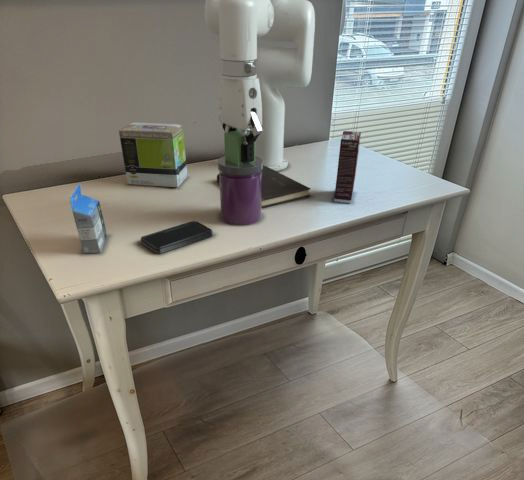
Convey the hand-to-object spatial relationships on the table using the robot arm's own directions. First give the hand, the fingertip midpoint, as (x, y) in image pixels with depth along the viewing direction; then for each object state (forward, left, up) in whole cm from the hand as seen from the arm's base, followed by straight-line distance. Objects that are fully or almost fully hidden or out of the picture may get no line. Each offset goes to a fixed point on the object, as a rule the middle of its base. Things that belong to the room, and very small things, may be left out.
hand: (240, 157), depth 114 cm
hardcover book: (-12, +16, -14) cm, 25 cm away
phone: (+1, -19, -14) cm, 24 cm away
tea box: (-35, -4, -14) cm, 38 cm away
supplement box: (+6, +30, -14) cm, 34 cm away
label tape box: (-7, -35, -14) cm, 38 cm away
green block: (0, 0, -1) cm, 1 cm away
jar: (0, 0, -14) cm, 14 cm away
